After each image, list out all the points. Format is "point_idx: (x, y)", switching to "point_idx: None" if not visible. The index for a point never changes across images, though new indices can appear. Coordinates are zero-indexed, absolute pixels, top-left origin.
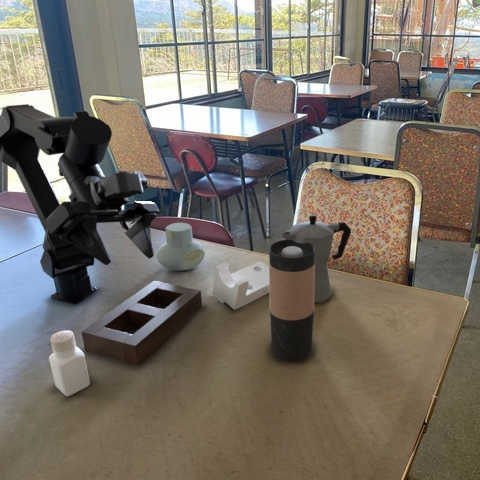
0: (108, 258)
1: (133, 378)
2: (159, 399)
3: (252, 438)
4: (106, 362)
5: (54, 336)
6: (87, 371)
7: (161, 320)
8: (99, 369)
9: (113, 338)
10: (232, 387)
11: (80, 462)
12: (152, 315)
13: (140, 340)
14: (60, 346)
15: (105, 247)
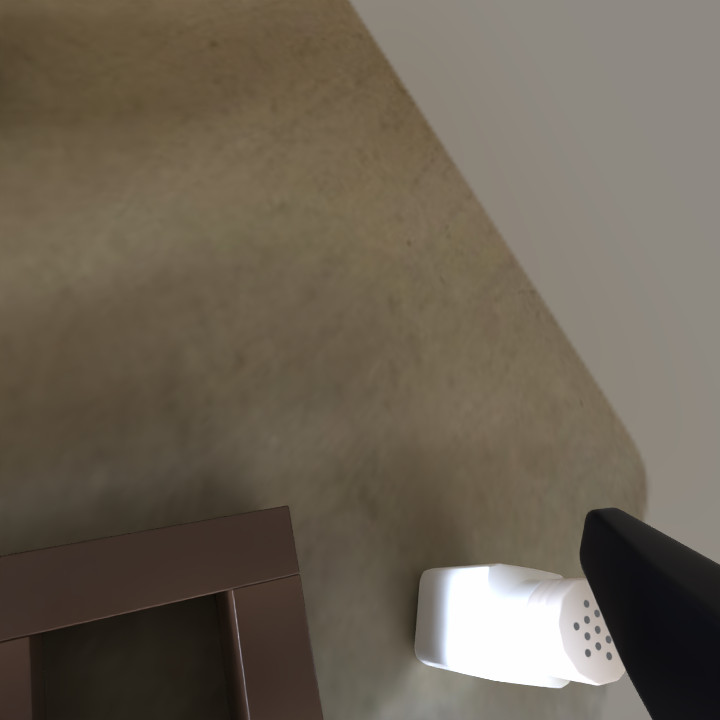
0: (632, 518)
1: (320, 476)
2: (343, 337)
3: (319, 81)
4: (312, 645)
5: (617, 659)
6: (449, 568)
7: (56, 565)
8: (352, 628)
9: (300, 641)
10: (195, 180)
11: (557, 362)
12: (29, 658)
13: (248, 517)
14: None
15: (707, 608)
